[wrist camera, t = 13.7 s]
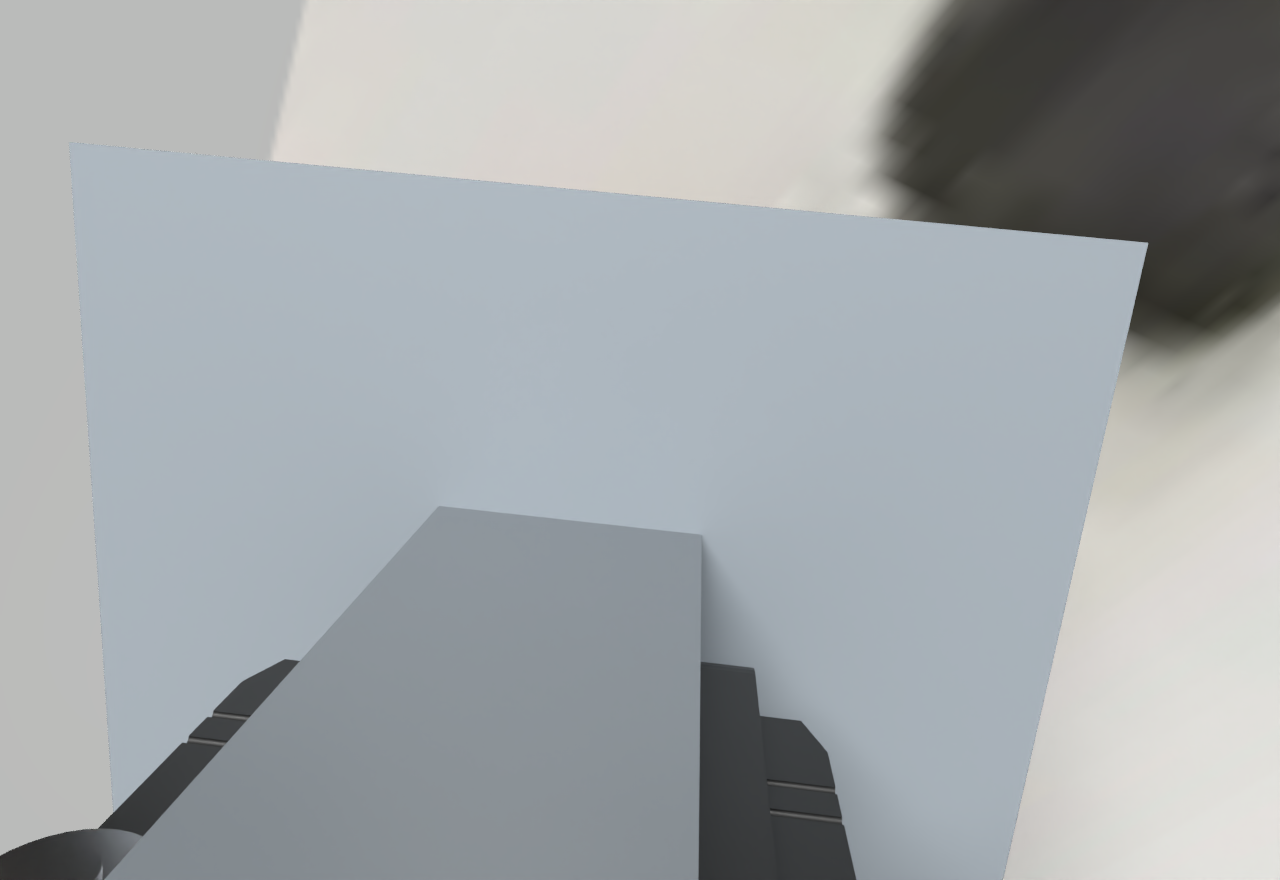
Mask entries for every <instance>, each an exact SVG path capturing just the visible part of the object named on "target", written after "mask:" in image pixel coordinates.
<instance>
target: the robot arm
mask: <svg viewBox="0 0 1280 880" xmlns="http://www.w3.org/2000/svg"><path fill="white" fill-rule="evenodd" d="M299 662H300V661H297V660H289V659H284V660H282V661H280V662H278V663H276V664H274V665H273V666H271V667H269V668H267V669H265V670H263V671H261V672H259V673H257V674H255V675H253V676H251V677H249V678H248V679H246V680H244V681H242V682H241V683H240V684H239V685H238V686H237V687H236V688H235V689H234V690H233V691H232V692H231V693H230V694H229V695H228V696H227V697H226V698H225V699H224V700H223V701H222V702H221V703H220V704H219V705H218V706H217V707H216V708H215V709H214V710H213V715H212V717H207V718H206V719H205V720H204V721H203V722H202V723H201V724H200V725H199V726H198V727H197V728H196V729H195V730H194V731H193V732H192V733H191V734H190V735H189V737H188V741H187V743H181V744H180V745H179V746H178V747H177V748H176V749H175V750H174V751H173V752H172V753H171V754H170V755H169V756H168V757H167V758H166V759H165V761H164V762H163V763H162V764H161V765H160V766H159V767H158V768H157V769H156V770H155V771H154V772H153V773H152V774H151V775H150V776H149V777H148V778H147V779H146V780H145V781H144V782H143V783H142V784H141V785H140V786H139V787H138V788H137V789H136V790H135V791H134V792H133V793H132V794H131V795H130V796H129V797H128V798H127V799H126V800H125V801H124V802H123V803H122V804H121V806H120V807H119V808H118V809H117V810H116V811H115V812H114V813H113V814H112V815H111V816H110V817H109V818H108V819H107V820H106V821H105V822H104V823H103V824H102V825H101V826H100V827H99V828H98V829H83V830H77V831H70V832H64V833H60V834H56V835H52V836H48V837H44V838H41V839H38V840H35V841H32V842H29V843H27V844H24V845H22V846H19V847H17V848H15V849H12V850H10V851H8V852H6V853H4V854H2V855H1V856H0V880H104V879H105V878H106V877H107V876H108V875H109V874H110V873H111V872H112V870H113V869H114V868H115V867H116V866H117V865H118V864H119V863H120V861H121V860H122V859H123V858H124V857H125V856H126V855H127V854H128V853H129V851H130V850H131V849H132V848H133V847H134V846H135V845H136V844H137V842H138V841H139V840H140V839H141V838H142V837H143V836H144V835H145V834H146V832H147V831H148V830H149V829H150V828H151V827H152V826H153V825H154V824H155V822H156V821H157V820H158V819H159V818H160V817H161V816H162V815H163V813H164V812H165V811H166V810H167V809H168V808H169V807H170V806H171V805H172V803H173V802H174V801H175V800H176V799H177V798H178V797H179V796H180V794H181V793H182V792H183V791H184V790H185V789H186V788H187V787H188V786H189V784H190V783H191V782H192V781H193V780H194V779H195V778H196V777H197V775H198V774H199V773H200V772H201V771H202V770H203V769H204V768H205V767H206V765H207V764H208V763H209V762H210V761H211V760H212V759H213V758H214V756H215V755H216V754H217V753H218V752H219V751H220V750H221V749H222V748H223V746H224V745H225V744H226V743H227V742H228V741H229V740H230V739H231V738H232V736H233V735H234V734H235V733H236V732H237V731H238V730H239V729H240V727H241V726H242V725H243V724H244V723H245V722H246V721H247V720H248V719H249V717H250V716H251V715H252V714H253V713H254V712H255V711H256V710H257V708H258V707H259V706H260V705H261V704H262V703H263V702H264V701H265V700H266V698H267V697H268V696H269V695H270V694H271V693H272V692H273V691H274V689H275V688H276V687H277V686H278V685H279V684H280V683H281V682H282V681H283V679H284V678H285V677H286V676H287V675H288V674H289V673H290V672H291V671H292V669H293V668H294V667H295V666H296V665H297V664H298V663H299ZM835 788H836V787H835V782H834V778H833V774H832V769H831V765H830V760H829V756H828V752H827V751H826V750H825V749H824V747H823V746H822V745H821V744H820V743H819V741H818V740H817V739H816V738H815V737H814V736H813V734H812V733H811V732H810V731H809V730H808V728H807V727H806V726H805V725H804V724H803V723H802V721H799V720H790V719H782V718H773V717H765V716H760V713H759V703H758V694H757V685H756V675H755V670H754V668H752V667H743V666H734V665H726V664H717V663H709V662H701V666H700V771H699V876H698V880H856V876H855V871H854V867H853V862H852V858H851V853H850V849H849V845H848V840H847V836H846V831H845V827H844V825H842V814H841V809H840V805H839V800H838V796H837V794H835Z"/></svg>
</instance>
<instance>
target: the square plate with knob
mask: <svg viewBox="0 0 1280 880" xmlns="http://www.w3.org/2000/svg"><path fill="white" fill-rule="evenodd" d="M69 148H70V163H71V178H72V193H73V209H74V222H75V223H74V224H75V239H76V254H77V268H78V284H79V300H80V315H81V330H82V345H83V360H84V375H85V390H86V406H87V421H88V436H89V451H90V465H91V480H92V497H93V512H94V527H95V542H96V557H97V572H98V587H99V601H100V617H101V633H102V648H103V663H104V678H105V694H106V708H107V724H108V739H109V754H110V769H111V784H112V800H113V813H114V812H115V811H116V810H117V809H118V808H119V807H120V806H121V804H122V803H123V802H124V801H125V800H126V799H127V798H128V797H129V796H130V795H131V794H132V793H133V792H134V791H135V790H136V789H137V788H138V787H139V786H140V785H141V784H142V783H143V782H144V781H145V780H146V779H147V778H148V777H149V776H150V775H151V774H152V773H153V772H154V771H155V770H156V769H157V768H158V767H159V766H160V765H161V764H162V763H163V762H164V761H165V759H166V758H167V757H168V756H169V755H170V754H171V753H172V752H173V751H174V750H175V749H176V748H177V747H178V746H179V745H180V744H181V743H187V741H188V737H189V735H190V734H191V733H192V732H193V731H194V730H195V729H196V728H197V727H198V726H199V725H200V724H201V723H202V722H203V721H204V720H205V719H206V718H207V717H212V715H213V710H214V709H215V708H216V707H217V706H218V705H219V704H220V703H221V702H222V701H223V700H224V699H225V698H226V697H227V696H228V695H229V694H230V693H231V692H232V691H233V690H234V689H235V688H236V687H237V686H238V685H239V684H240V683H241V682H242V681H244V680H246V679H248V678H249V677H251V676H253V675H255V674H257V673H259V672H261V671H263V670H265V669H267V668H269V667H271V666H273V665H274V664H276V663H278V662H280V661H282V660H284V659H289V660H297V661H300V662H299V663H298V664H297V665H296V666H295V667H294V668H293V669H292V671H291V672H290V673H289V674H288V675H287V676H286V677H285V678H284V679H283V681H282V682H281V683H280V684H279V685H278V686H277V687H276V688H275V689H274V691H273V692H272V693H271V694H270V695H269V696H268V697H267V698H266V700H265V701H264V702H263V703H262V704H261V705H260V706H259V707H258V708H257V710H256V711H255V712H254V713H253V714H252V715H251V716H250V717H249V719H248V720H247V721H246V722H245V723H244V724H243V725H242V726H241V727H240V729H239V730H238V731H237V732H236V733H235V734H234V735H233V736H232V738H231V739H230V740H229V741H228V742H227V743H226V744H225V745H224V746H223V748H222V749H221V750H220V751H219V752H218V753H217V754H216V755H215V756H214V758H213V759H212V760H211V761H210V762H209V763H208V764H207V765H206V767H205V768H204V769H203V770H202V771H201V772H200V773H199V774H198V775H197V777H196V778H195V779H194V780H193V781H192V782H191V783H190V784H189V786H188V787H187V788H186V789H185V790H184V791H183V792H182V793H181V794H180V796H179V797H178V798H177V799H176V800H175V801H174V802H173V803H172V805H171V806H170V807H169V808H168V809H167V810H166V811H165V812H164V813H163V815H162V816H161V817H160V818H159V819H158V820H157V821H156V822H155V824H154V825H153V826H152V827H151V828H150V829H149V830H148V831H147V832H146V834H145V835H144V836H143V837H142V838H141V839H140V840H139V841H138V842H137V844H136V845H135V846H134V847H133V848H132V849H131V850H130V851H129V853H128V854H127V855H126V856H125V857H124V858H123V859H122V860H121V861H120V863H119V864H118V865H117V866H116V867H115V868H114V869H113V870H112V872H111V873H110V874H109V875H108V876H107V877H106V878H105V879H104V880H698V876H699V771H700V666H701V662H709V663H717V664H726V665H734V666H743V667H752V668H754V670H755V675H756V685H757V694H758V703H759V713H760V716H765V717H773V718H782V719H790V720H799V721H802V723H803V724H804V725H805V726H806V727H807V728H808V730H809V731H810V732H811V733H812V734H813V736H814V737H815V738H816V739H817V740H818V741H819V743H820V744H821V745H822V746H823V747H824V749H825V750H826V751H827V752H828V756H829V760H830V765H831V769H832V774H833V778H834V782H835V787H836V788H835V794H837V796H838V800H839V805H840V809H841V814H842V825H844V827H845V831H846V836H847V840H848V845H849V849H850V853H851V858H852V862H853V867H854V871H855V876H856V880H1003V877H1004V873H1005V868H1006V864H1007V859H1008V855H1009V851H1010V846H1011V842H1012V838H1013V833H1014V829H1015V824H1016V820H1017V816H1018V811H1019V807H1020V802H1021V798H1022V794H1023V789H1024V785H1025V781H1026V776H1027V772H1028V767H1029V763H1030V759H1031V754H1032V750H1033V745H1034V741H1035V737H1036V732H1037V728H1038V724H1039V719H1040V715H1041V710H1042V706H1043V702H1044V697H1045V693H1046V688H1047V684H1048V680H1049V675H1050V671H1051V667H1052V662H1053V658H1054V653H1055V649H1056V645H1057V640H1058V636H1059V631H1060V627H1061V623H1062V618H1063V614H1064V610H1065V605H1066V601H1067V596H1068V592H1069V588H1070V583H1071V579H1072V574H1073V570H1074V566H1075V561H1076V557H1077V553H1078V548H1079V544H1080V539H1081V535H1082V531H1083V526H1084V522H1085V517H1086V513H1087V509H1088V504H1089V500H1090V496H1091V491H1092V487H1093V482H1094V478H1095V474H1096V469H1097V465H1098V460H1099V456H1100V452H1101V447H1102V443H1103V439H1104V434H1105V430H1106V425H1107V421H1108V417H1109V412H1110V408H1111V403H1112V399H1113V395H1114V390H1115V386H1116V382H1117V377H1118V373H1119V368H1120V364H1121V360H1122V355H1123V351H1124V346H1125V342H1126V338H1127V333H1128V329H1129V325H1130V320H1131V316H1132V311H1133V307H1134V303H1135V298H1136V294H1137V290H1138V285H1139V281H1140V276H1141V272H1142V268H1143V263H1144V259H1145V254H1146V250H1147V246H1148V243H1143V242H1132V241H1122V240H1111V239H1100V238H1090V237H1079V236H1068V235H1057V234H1047V233H1036V232H1025V231H1015V230H1004V229H993V228H983V227H972V226H961V225H950V224H940V223H929V222H918V221H908V220H897V219H886V218H876V217H865V216H854V215H843V214H833V213H822V212H811V211H801V210H790V209H779V208H769V207H758V206H747V205H736V204H726V203H715V202H704V201H694V200H683V199H672V198H662V197H651V196H640V195H629V194H619V193H608V192H597V191H587V190H576V189H565V188H555V187H544V186H533V185H522V184H512V183H501V182H490V181H480V180H469V179H458V178H448V177H437V176H426V175H415V174H405V173H394V172H383V171H373V170H362V169H351V168H340V167H330V166H319V165H308V164H298V163H287V162H276V161H266V160H255V159H244V158H233V157H222V156H211V155H201V154H191V153H179V152H169V151H159V150H148V149H137V148H125V147H116V146H115V147H114V146H105V145H94V144H84V143H73V142H70V143H69Z"/></svg>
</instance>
